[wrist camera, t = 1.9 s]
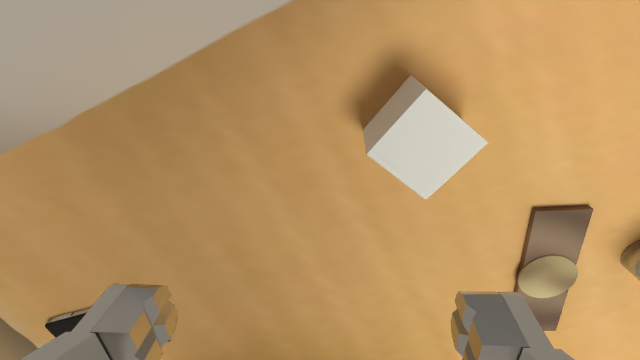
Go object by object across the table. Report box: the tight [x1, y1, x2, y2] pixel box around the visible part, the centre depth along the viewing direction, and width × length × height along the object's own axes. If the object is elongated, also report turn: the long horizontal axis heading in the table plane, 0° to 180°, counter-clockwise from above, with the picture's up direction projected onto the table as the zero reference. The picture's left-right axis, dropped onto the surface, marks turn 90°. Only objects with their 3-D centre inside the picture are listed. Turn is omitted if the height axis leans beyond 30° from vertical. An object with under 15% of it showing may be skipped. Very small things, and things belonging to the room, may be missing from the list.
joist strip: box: [514, 206, 593, 331], centre depth 35 cm, size 16×6×1 cm, turn 5°
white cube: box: [363, 75, 488, 200], centre depth 26 cm, size 6×6×6 cm
